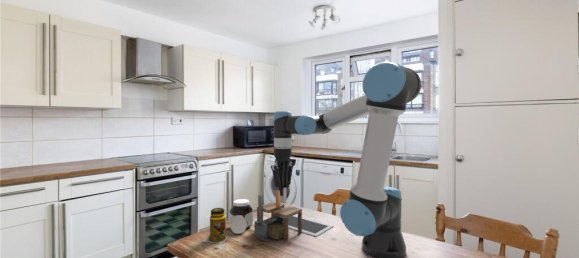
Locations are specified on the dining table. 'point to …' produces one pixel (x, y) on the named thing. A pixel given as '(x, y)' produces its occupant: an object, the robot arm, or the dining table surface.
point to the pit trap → (308, 226)
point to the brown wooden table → (284, 215)
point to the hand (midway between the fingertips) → (282, 202)
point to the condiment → (217, 226)
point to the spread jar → (240, 216)
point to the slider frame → (262, 224)
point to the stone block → (275, 230)
